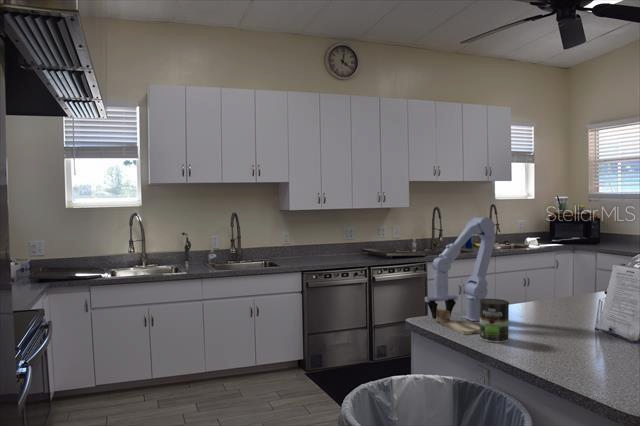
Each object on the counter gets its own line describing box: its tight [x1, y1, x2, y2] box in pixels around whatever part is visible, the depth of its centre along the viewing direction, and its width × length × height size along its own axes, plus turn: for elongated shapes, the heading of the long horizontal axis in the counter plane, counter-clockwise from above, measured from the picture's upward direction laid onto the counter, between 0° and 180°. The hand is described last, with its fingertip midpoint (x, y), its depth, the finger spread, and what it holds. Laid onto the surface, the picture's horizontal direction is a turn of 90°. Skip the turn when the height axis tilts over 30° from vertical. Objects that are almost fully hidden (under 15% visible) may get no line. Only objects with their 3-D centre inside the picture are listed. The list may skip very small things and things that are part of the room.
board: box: [441, 319, 480, 335], centre depth 203 cm, size 12×16×1 cm
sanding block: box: [432, 307, 451, 325], centre depth 216 cm, size 4×8×5 cm, turn 13°
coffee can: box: [479, 298, 510, 344], centre depth 187 cm, size 10×10×14 cm
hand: (441, 317), depth 216 cm, fingers open, 6 cm apart
